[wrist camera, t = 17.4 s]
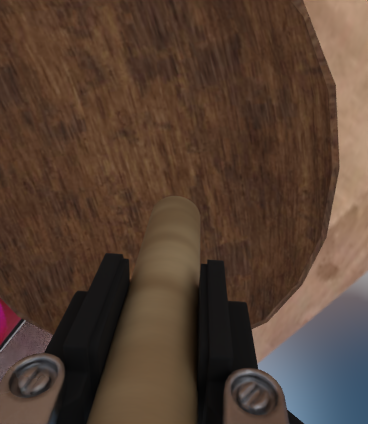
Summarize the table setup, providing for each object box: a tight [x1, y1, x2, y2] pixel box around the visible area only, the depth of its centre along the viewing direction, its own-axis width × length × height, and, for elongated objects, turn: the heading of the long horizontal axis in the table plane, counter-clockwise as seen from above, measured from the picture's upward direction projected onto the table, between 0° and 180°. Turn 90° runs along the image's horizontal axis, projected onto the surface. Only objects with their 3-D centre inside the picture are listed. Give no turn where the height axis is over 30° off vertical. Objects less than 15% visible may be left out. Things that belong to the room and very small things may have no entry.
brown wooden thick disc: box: [0, 0, 339, 335], centre depth 19 cm, size 20×22×5 cm
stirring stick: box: [87, 196, 200, 424], centre depth 11 cm, size 2×2×14 cm
